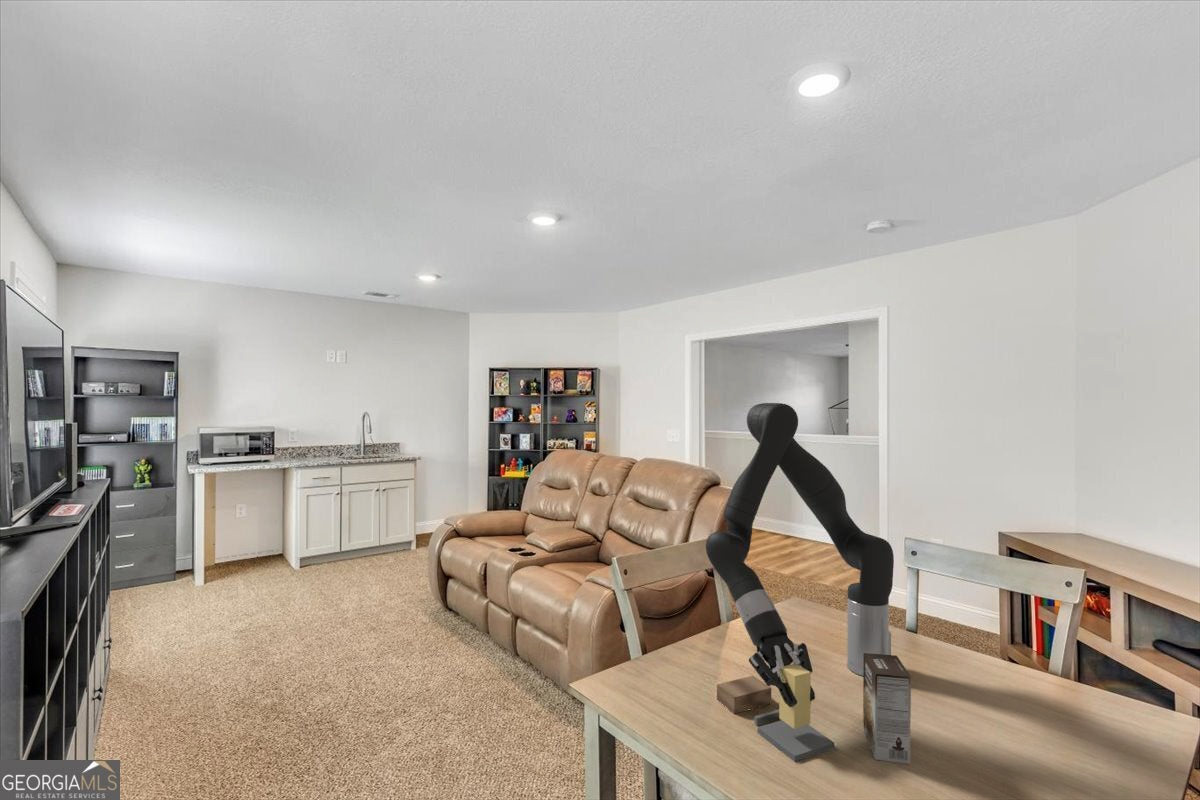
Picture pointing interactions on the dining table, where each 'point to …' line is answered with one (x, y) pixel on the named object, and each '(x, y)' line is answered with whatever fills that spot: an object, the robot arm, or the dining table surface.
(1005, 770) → the dining table surface
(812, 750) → the mat
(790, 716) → the pale yellow rectangular prism
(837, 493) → the robot arm
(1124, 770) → the dining table surface
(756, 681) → the block
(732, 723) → the dining table surface
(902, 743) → the coffee box
